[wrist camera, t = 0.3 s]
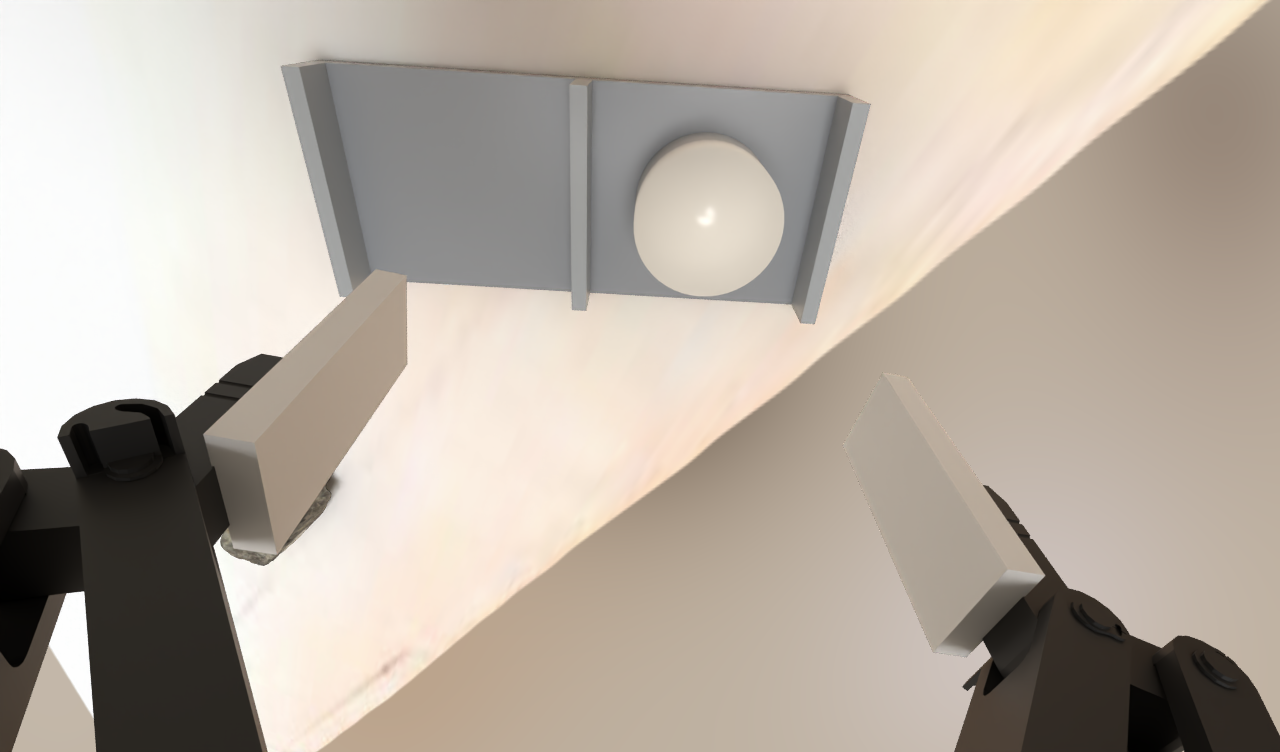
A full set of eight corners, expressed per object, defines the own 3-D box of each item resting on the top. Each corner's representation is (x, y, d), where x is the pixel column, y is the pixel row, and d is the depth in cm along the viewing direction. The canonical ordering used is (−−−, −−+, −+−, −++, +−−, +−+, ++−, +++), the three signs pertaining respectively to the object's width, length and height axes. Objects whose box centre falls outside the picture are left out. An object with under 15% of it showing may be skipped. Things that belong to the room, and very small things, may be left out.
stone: (358, 498, 61) (294, 587, 56) (296, 468, 61) (226, 555, 55) (344, 454, 50) (262, 560, 44) (268, 417, 49) (175, 519, 44)
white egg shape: (639, 127, 35) (637, 143, 31) (781, 136, 36) (798, 153, 31) (632, 262, 40) (630, 292, 36) (757, 270, 41) (769, 300, 36)
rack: (318, 60, 35) (280, 65, 31) (848, 94, 35) (870, 104, 32) (365, 272, 42) (339, 296, 39) (801, 298, 43) (814, 324, 39)
